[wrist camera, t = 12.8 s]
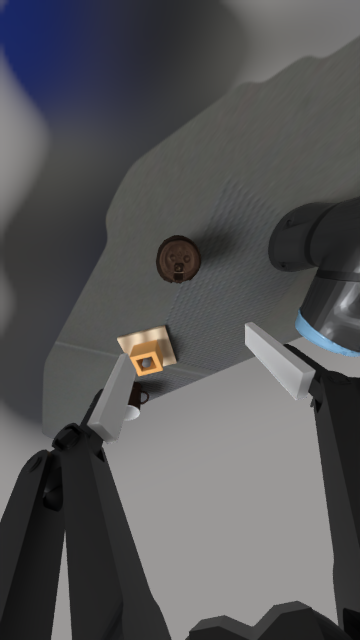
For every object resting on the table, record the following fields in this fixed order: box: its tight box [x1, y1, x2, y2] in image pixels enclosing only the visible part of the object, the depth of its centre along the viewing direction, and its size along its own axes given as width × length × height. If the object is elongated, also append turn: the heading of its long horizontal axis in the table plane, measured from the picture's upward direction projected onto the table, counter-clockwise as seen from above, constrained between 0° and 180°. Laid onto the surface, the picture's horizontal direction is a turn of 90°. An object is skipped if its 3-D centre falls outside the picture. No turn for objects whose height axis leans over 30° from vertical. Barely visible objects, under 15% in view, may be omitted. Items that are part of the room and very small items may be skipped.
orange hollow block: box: [129, 340, 163, 376], centre depth 43 cm, size 8×8×6 cm
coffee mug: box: [123, 382, 149, 420], centre depth 50 cm, size 12×9×10 cm
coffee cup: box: [156, 235, 201, 283], centre depth 29 cm, size 9×8×13 cm
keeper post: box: [117, 325, 177, 373], centre depth 43 cm, size 16×16×7 cm
